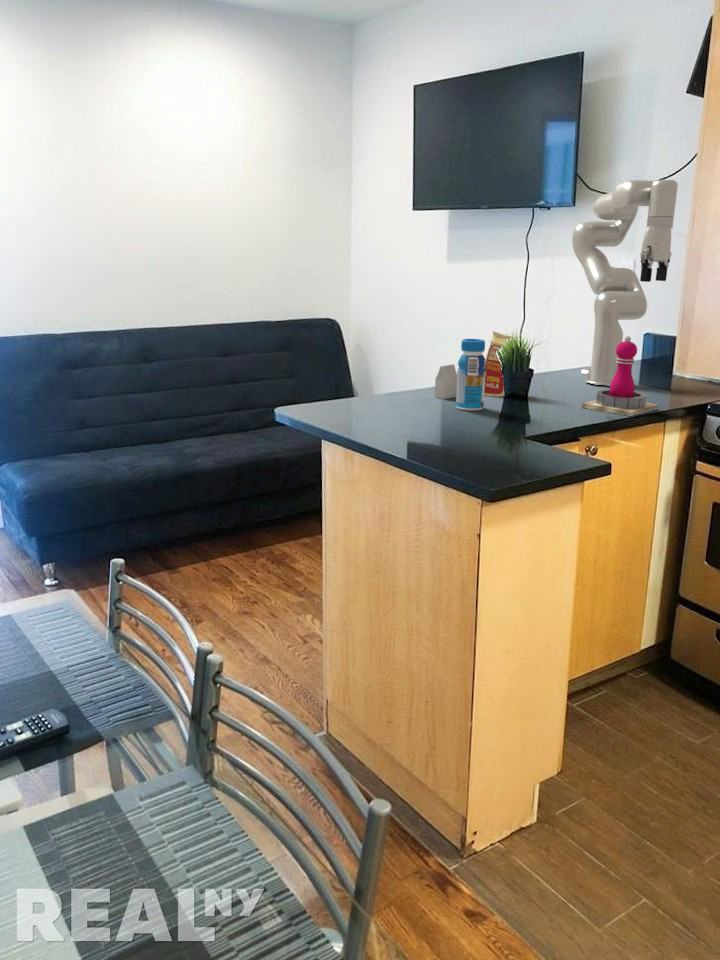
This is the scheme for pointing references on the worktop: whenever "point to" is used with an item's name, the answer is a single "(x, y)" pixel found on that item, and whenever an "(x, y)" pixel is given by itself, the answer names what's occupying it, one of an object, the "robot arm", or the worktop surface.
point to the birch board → (618, 410)
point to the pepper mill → (624, 370)
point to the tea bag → (446, 382)
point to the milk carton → (494, 367)
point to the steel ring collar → (621, 400)
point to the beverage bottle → (471, 375)
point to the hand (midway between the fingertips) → (653, 281)
